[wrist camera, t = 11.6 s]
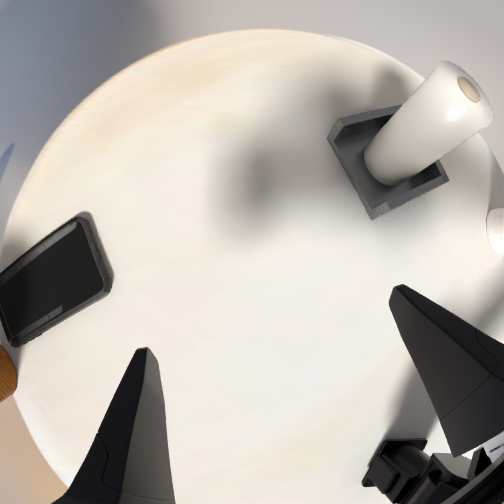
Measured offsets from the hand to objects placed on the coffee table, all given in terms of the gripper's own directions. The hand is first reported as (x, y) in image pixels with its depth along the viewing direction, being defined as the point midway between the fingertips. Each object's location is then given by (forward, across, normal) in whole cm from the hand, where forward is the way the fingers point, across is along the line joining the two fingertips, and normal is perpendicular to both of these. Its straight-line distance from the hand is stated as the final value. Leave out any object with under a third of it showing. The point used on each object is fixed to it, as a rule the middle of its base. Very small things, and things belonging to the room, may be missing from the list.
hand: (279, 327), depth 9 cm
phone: (+14, +19, +6) cm, 25 cm away
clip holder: (+17, -16, +2) cm, 23 cm away
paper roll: (+16, -16, +2) cm, 23 cm away
